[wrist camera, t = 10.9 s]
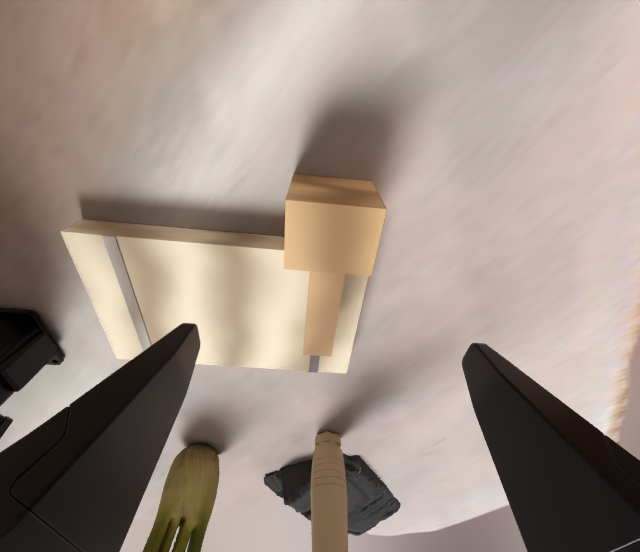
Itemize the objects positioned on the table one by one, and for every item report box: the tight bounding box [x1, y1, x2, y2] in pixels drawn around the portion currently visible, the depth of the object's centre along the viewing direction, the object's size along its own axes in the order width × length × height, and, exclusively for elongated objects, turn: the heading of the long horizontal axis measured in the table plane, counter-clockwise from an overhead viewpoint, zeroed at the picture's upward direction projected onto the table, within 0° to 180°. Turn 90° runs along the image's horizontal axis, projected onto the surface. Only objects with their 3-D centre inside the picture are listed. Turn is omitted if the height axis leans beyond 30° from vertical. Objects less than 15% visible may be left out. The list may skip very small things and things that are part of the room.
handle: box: [311, 431, 348, 552], centre depth 29 cm, size 5×6×15 cm
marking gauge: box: [284, 174, 387, 357], centre depth 19 cm, size 5×11×5 cm, turn 175°
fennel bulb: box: [143, 444, 219, 552], centre depth 33 cm, size 6×5×12 cm
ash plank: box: [60, 219, 368, 373], centre depth 23 cm, size 20×12×2 cm, turn 85°
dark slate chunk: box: [264, 454, 400, 536], centre depth 43 cm, size 15×22×5 cm
